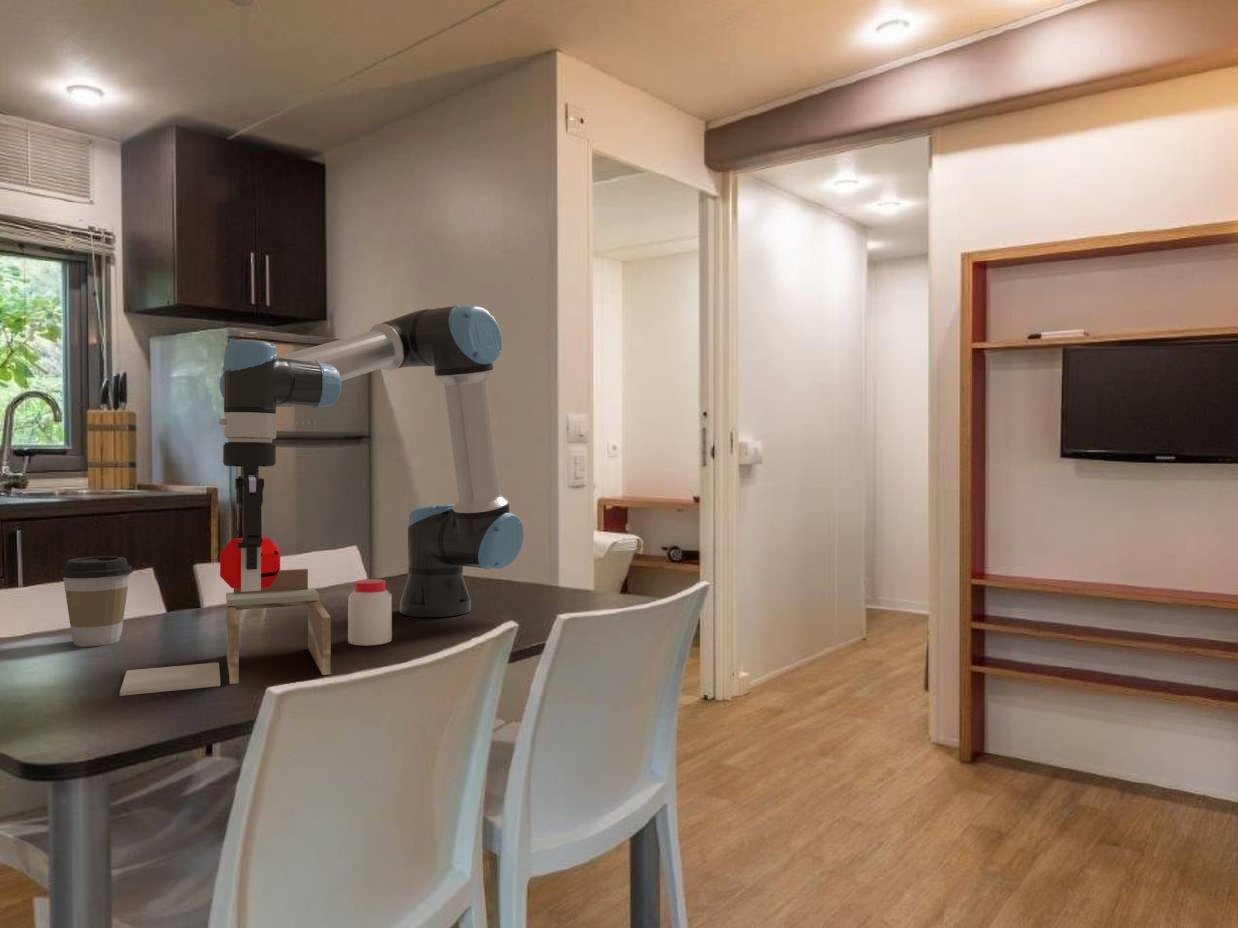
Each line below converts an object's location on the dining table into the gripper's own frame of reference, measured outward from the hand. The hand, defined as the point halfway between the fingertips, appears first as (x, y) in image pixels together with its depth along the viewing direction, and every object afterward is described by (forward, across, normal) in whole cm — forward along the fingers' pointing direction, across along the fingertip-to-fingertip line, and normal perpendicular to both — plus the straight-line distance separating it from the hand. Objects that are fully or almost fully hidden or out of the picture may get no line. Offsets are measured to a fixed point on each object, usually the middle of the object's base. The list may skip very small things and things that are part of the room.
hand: (248, 586), depth 136 cm
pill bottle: (+14, -17, +22) cm, 31 cm away
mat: (+14, -2, -10) cm, 17 cm away
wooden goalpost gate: (+14, -5, +4) cm, 15 cm away
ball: (0, 0, 0) cm, 0 cm away
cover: (+5, -14, +5) cm, 15 cm away
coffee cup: (+14, -36, -23) cm, 45 cm away
